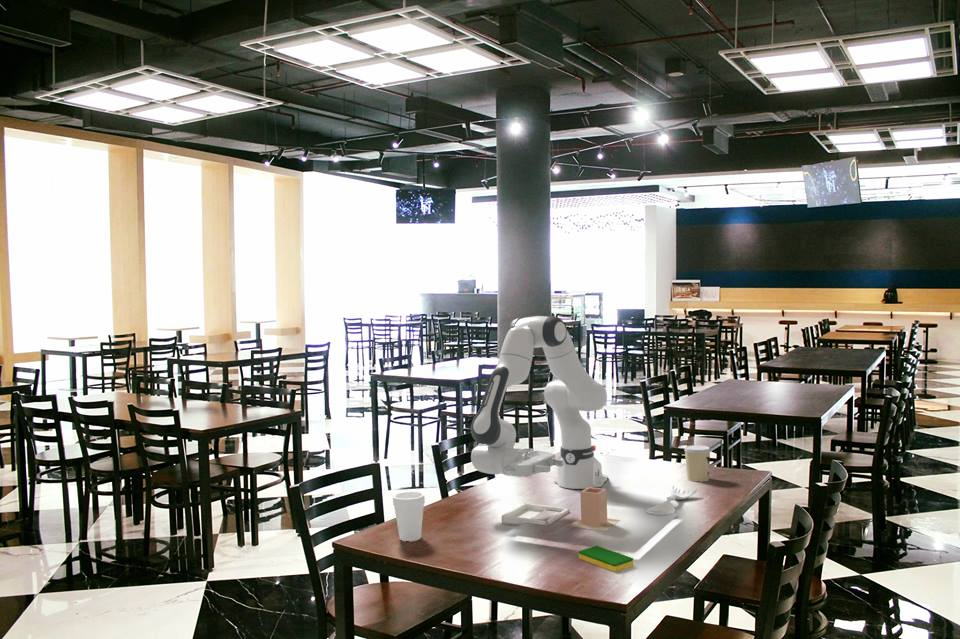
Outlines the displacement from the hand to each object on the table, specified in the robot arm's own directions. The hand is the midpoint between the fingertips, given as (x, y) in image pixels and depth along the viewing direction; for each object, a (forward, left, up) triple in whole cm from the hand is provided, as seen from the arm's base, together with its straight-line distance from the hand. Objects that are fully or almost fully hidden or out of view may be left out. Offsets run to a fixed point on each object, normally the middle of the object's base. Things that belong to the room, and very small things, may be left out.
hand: (556, 466), depth 241 cm
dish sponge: (+26, +26, -19) cm, 41 cm away
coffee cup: (-71, +24, -18) cm, 77 cm away
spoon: (-32, +26, -18) cm, 45 cm away
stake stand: (0, +12, -18) cm, 22 cm away
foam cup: (+32, -34, -18) cm, 50 cm away
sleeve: (0, +12, -16) cm, 20 cm away
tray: (0, -8, -18) cm, 20 cm away
